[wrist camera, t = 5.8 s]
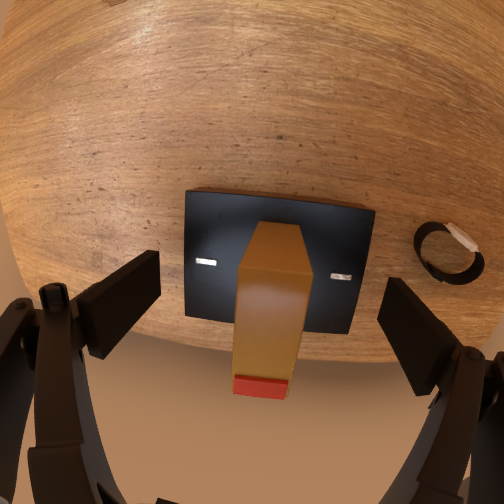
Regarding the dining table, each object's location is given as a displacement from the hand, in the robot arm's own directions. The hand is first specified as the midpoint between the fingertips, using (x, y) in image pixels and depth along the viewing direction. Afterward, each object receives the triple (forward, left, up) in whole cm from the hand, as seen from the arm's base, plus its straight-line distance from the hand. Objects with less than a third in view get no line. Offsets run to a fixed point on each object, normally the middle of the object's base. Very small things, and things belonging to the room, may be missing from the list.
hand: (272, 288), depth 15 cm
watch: (-6, -13, -6) cm, 16 cm away
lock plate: (0, 0, -6) cm, 6 cm away
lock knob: (0, 0, -3) cm, 3 cm away
